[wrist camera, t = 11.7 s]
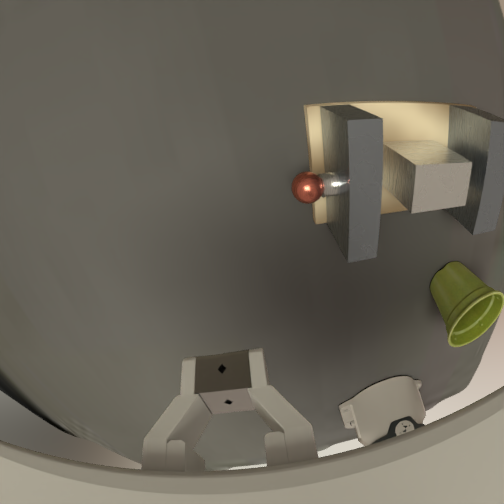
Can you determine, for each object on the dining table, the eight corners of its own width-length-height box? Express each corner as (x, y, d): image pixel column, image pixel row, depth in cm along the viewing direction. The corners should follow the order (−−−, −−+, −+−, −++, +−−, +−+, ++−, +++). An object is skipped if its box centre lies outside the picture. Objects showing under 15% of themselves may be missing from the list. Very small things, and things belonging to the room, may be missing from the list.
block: (430, 177, 26) (465, 205, 21) (379, 182, 26) (411, 213, 21) (433, 140, 24) (472, 162, 19) (380, 142, 24) (416, 165, 19)
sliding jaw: (351, 220, 28) (376, 257, 23) (290, 230, 28) (304, 271, 23) (348, 104, 21) (382, 118, 17) (276, 110, 22) (292, 125, 17)
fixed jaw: (462, 201, 28) (494, 229, 23) (440, 205, 28) (472, 234, 23) (472, 107, 21) (514, 123, 16) (449, 104, 21) (491, 121, 17)
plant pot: (432, 252, 33) (469, 299, 26) (479, 248, 33) (514, 288, 26) (411, 306, 38) (437, 353, 31) (457, 298, 39) (484, 338, 32)
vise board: (460, 197, 29) (465, 201, 28) (313, 219, 29) (315, 224, 28) (470, 105, 22) (476, 107, 21) (303, 105, 23) (306, 106, 22)
